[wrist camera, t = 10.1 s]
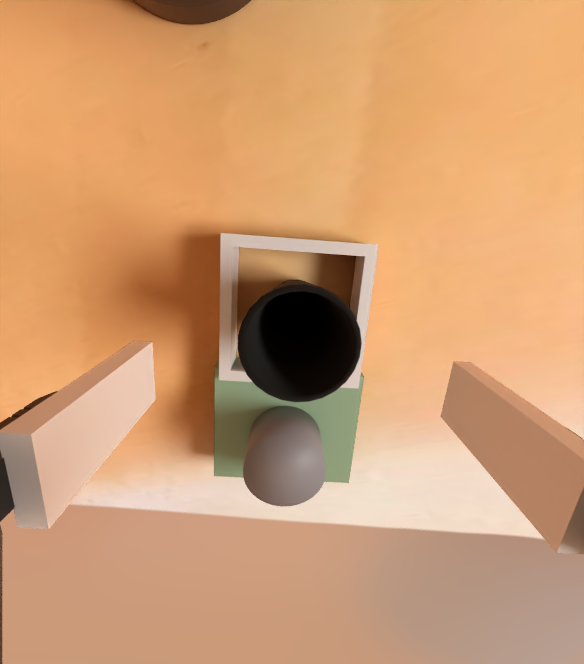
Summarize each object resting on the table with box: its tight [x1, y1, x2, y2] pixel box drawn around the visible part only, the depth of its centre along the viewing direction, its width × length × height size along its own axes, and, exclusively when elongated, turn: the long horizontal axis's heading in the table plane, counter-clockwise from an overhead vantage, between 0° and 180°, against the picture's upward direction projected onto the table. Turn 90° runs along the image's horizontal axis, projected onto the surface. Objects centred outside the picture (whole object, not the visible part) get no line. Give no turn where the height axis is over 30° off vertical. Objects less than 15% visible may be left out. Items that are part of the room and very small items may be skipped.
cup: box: [238, 280, 362, 402], centre depth 25 cm, size 8×8×12 cm
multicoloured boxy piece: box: [214, 233, 379, 506], centre depth 29 cm, size 24×14×8 cm, turn 176°
